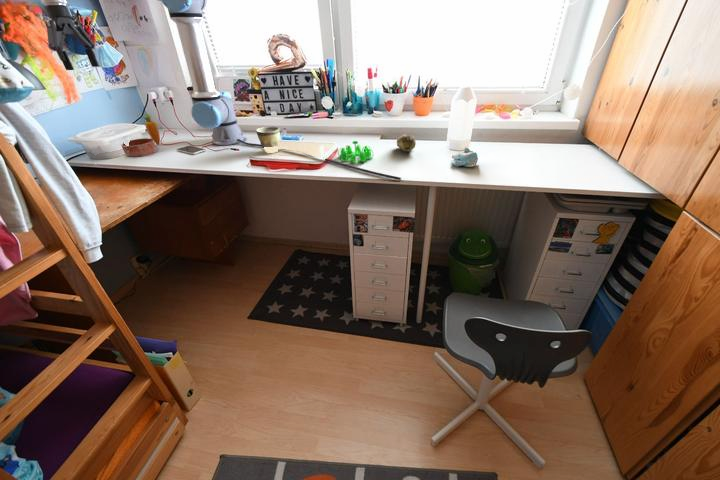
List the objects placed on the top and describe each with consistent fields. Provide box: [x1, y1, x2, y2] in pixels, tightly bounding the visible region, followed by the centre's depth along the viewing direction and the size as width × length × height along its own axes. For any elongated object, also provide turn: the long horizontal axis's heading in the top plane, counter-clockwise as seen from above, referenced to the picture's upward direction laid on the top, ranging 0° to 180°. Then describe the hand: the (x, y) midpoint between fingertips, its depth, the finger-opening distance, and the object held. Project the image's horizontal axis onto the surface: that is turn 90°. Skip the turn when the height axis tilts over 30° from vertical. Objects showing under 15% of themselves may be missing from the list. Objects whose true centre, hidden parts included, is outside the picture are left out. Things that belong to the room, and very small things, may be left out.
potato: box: [396, 134, 417, 152], centre depth 139 cm, size 8×13×8 cm, turn 172°
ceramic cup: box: [255, 126, 281, 149], centre depth 146 cm, size 13×10×10 cm
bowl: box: [120, 137, 158, 158], centre depth 151 cm, size 13×13×5 cm
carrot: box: [141, 112, 161, 146], centre depth 159 cm, size 5×5×15 cm
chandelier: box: [337, 140, 374, 164], centre depth 134 cm, size 15×15×7 cm
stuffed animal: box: [450, 146, 479, 168], centre depth 124 cm, size 11×7×12 cm
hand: (83, 68), depth 133 cm, fingers open, 13 cm apart
